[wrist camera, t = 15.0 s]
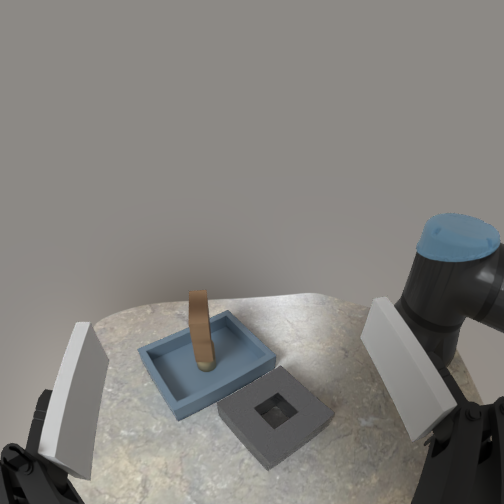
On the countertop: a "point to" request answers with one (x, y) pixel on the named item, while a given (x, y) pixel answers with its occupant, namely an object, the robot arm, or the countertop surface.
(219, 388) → the tray
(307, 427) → the socket block
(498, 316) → the robot arm
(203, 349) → the key
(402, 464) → the countertop surface
